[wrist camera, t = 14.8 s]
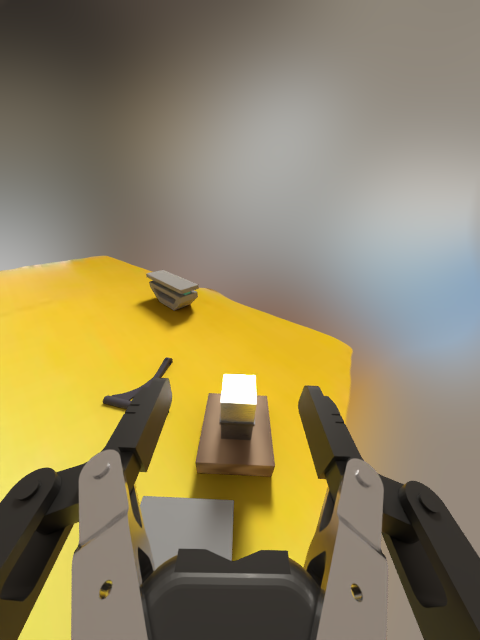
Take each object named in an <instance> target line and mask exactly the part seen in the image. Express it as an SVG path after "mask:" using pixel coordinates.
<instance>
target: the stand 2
mask: <svg viewBox="0 0 480 640" xmlns="http://www.w3.org/2000/svg"><path fill="white" fill-rule="evenodd" d="M220 402H221V394H214V393H209V395H208V401H207V406H206V411H205V416H204V421H203V426H202V432H201V437H200V442H199V447H198V452H197V458H196V467H197V472H198V473H208V474H229V475H250V476H272V473H273V470H274V467H275V463H274V454H273V445H272V437H271V428H270V419H269V411H268V402H267V396H256V403H257V405H256V411H255V426H253V431H252V437H251V440H236V439H221V425H219V421H220V413H221V405H220Z"/></svg>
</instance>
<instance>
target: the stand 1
mask: <svg viewBox="0 0 480 640" xmlns="http://www.w3.org/2000/svg"><path fill="white" fill-rule="evenodd" d="M140 509H141V513H142V518H143V523H144V527H145V531H146V534H147V537H148V540H149V543H150V547H151V552H152V556H153V561H154V565H155V570H156V569H157V568H158V567H159V566H160V565H161V564H163V563H164V562H165V561H167V560H168V559H170V558H172V557H174V556H176V555H178V549H207V550H209V551H211V552H213V553H215V554H217V555H220V556H222V557H224V558H226V559H228V560H230V561H232V537H233V511H234V500H216V499H194V498H173V497H152V496H143V498H142V501H141V504H140Z"/></svg>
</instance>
